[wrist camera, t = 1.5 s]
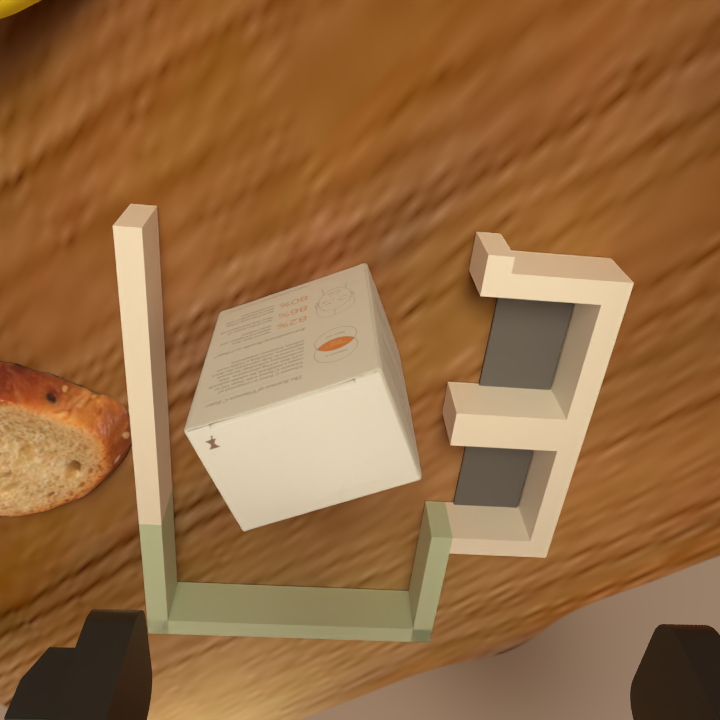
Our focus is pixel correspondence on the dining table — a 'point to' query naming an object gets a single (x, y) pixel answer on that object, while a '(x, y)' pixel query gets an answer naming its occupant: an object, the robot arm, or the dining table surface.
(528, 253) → the channel
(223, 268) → the dining table surface
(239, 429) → the small box
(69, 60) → the dining table surface
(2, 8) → the banana
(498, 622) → the dining table surface
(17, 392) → the bread slice
